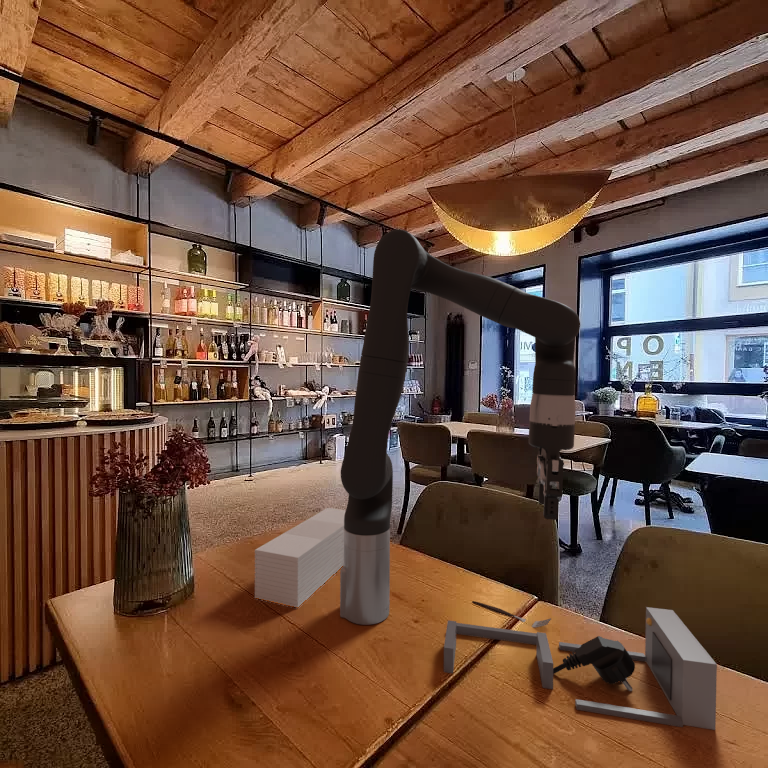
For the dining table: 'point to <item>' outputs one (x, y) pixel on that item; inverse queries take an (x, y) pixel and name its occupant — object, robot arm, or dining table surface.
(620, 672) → the power plug
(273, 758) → the dining table surface
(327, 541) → the stack of papers
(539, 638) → the plug holster
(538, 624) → the fork
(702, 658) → the socket block
